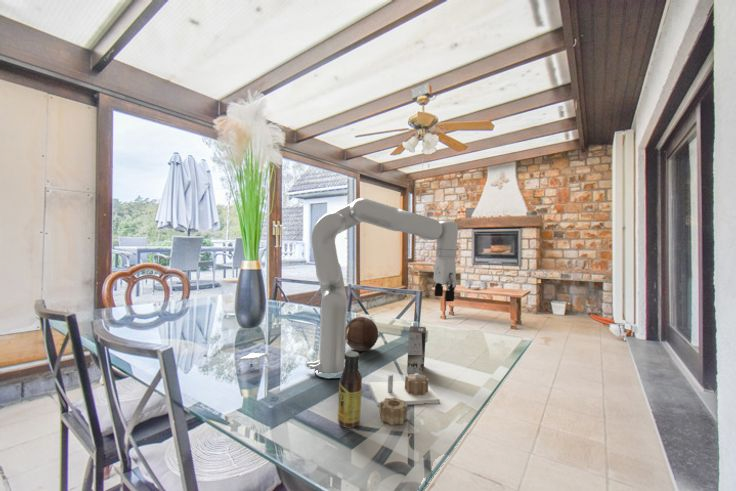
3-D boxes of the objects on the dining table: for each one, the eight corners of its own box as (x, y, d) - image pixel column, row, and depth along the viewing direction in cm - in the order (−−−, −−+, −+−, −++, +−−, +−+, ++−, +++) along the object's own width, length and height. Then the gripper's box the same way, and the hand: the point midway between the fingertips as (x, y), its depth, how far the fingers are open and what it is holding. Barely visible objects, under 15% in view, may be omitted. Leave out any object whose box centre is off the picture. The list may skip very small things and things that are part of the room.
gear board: (377, 406, 105) (378, 385, 105) (369, 385, 119) (369, 366, 118) (439, 402, 109) (440, 382, 108) (423, 383, 122) (424, 364, 122)
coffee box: (423, 375, 129) (425, 333, 129) (406, 373, 131) (408, 331, 130) (424, 366, 138) (426, 326, 138) (408, 364, 140) (410, 325, 139)
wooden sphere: (376, 345, 161) (377, 313, 161) (378, 356, 146) (380, 322, 146) (344, 344, 161) (345, 312, 160) (343, 356, 146) (344, 321, 145)
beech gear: (383, 426, 94) (384, 410, 94) (377, 412, 102) (378, 397, 101) (409, 424, 96) (410, 409, 96) (401, 410, 103) (402, 396, 103)
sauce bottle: (337, 416, 98) (340, 348, 97) (359, 416, 99) (362, 348, 98) (337, 430, 92) (340, 357, 91) (360, 429, 92) (363, 357, 91)
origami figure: (258, 361, 137) (258, 348, 137) (271, 366, 132) (271, 354, 131) (230, 369, 127) (230, 356, 127) (242, 376, 122) (242, 362, 122)
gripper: (428, 251, 138) (426, 294, 138) (446, 255, 121) (444, 303, 122) (445, 252, 139) (443, 294, 140) (466, 255, 122) (463, 303, 123)
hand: (443, 298), depth 131 cm, fingers open, 9 cm apart
